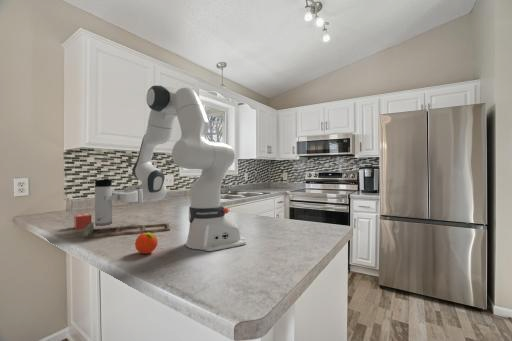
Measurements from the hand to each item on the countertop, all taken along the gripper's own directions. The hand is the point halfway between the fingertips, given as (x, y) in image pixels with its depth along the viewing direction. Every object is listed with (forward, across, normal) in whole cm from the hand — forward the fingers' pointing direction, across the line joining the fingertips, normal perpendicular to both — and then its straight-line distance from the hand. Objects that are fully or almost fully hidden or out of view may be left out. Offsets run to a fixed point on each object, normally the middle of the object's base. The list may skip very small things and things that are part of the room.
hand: (101, 197), depth 107 cm
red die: (+1, -19, +16) cm, 25 cm away
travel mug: (-1, 0, +12) cm, 12 cm away
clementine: (+1, +39, +16) cm, 42 cm away
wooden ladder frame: (-10, +5, +16) cm, 19 cm away
